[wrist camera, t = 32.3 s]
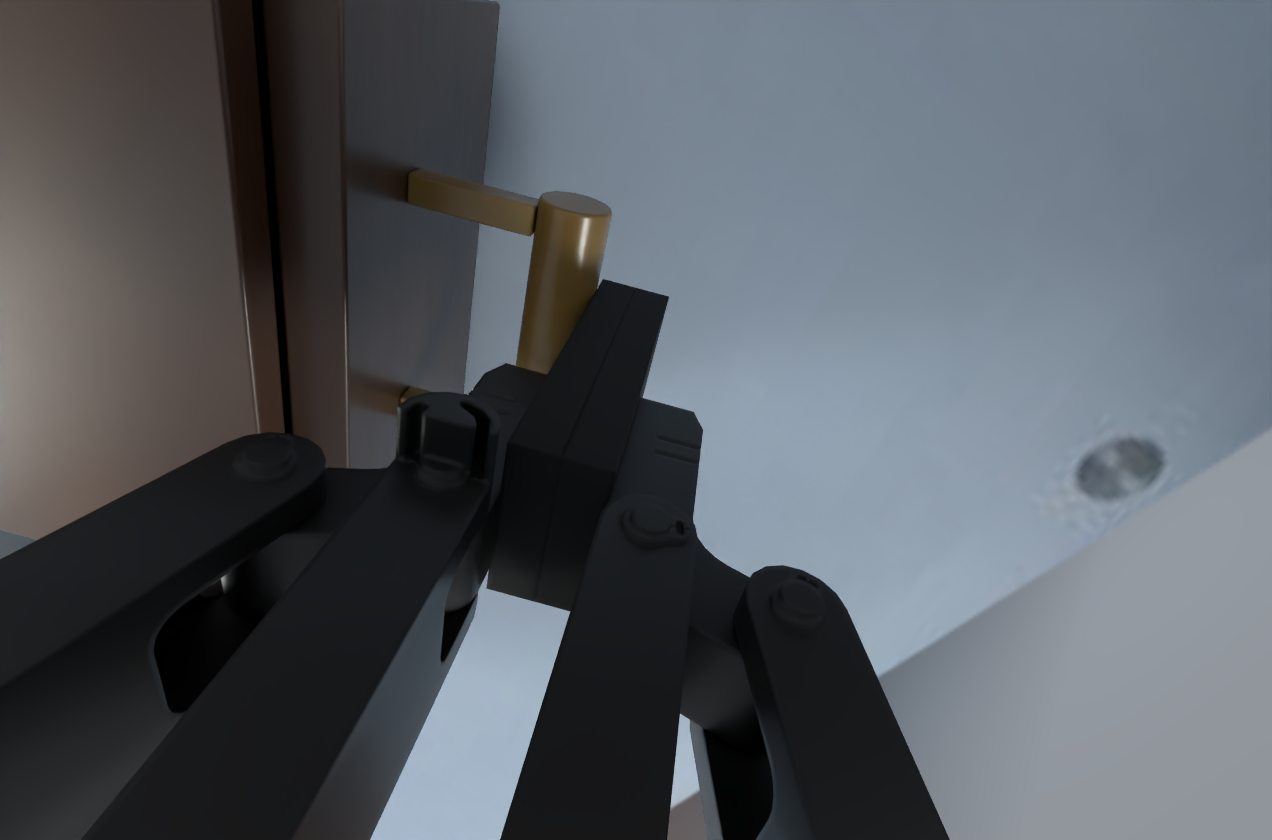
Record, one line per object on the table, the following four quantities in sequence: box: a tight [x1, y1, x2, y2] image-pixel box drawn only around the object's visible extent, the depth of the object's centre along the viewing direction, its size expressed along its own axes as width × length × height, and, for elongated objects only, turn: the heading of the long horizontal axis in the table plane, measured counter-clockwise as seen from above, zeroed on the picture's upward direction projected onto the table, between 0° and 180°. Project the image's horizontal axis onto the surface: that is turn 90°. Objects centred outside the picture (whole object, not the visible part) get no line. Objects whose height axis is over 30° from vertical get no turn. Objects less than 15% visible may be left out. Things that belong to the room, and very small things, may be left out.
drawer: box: [252, 0, 612, 469], centre depth 15 cm, size 17×11×7 cm, turn 77°
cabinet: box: [0, 0, 285, 585], centre depth 15 cm, size 15×13×9 cm
